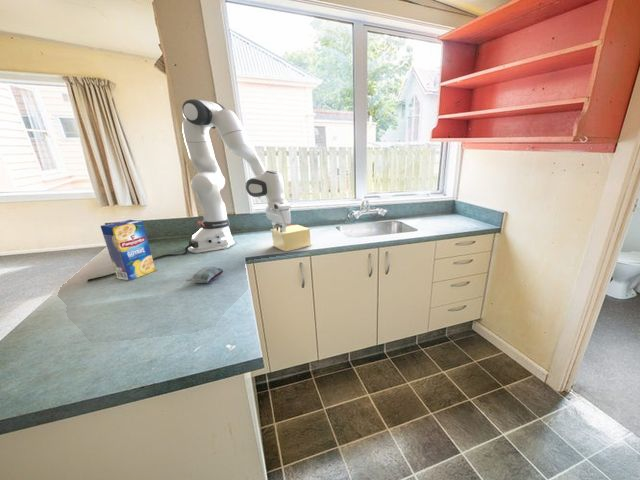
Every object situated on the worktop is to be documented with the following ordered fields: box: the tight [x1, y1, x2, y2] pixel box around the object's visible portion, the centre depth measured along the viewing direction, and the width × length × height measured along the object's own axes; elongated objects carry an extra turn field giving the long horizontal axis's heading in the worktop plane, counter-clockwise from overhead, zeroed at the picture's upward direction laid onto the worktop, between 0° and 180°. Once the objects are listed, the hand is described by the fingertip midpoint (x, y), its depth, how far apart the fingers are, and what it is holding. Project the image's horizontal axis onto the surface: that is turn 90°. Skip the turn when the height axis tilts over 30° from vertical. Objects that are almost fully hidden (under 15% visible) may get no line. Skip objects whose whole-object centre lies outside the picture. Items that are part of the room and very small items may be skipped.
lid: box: [270, 222, 311, 236], centre depth 160 cm, size 16×13×5 cm
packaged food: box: [185, 266, 224, 284], centre depth 119 cm, size 9×12×5 cm
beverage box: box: [100, 219, 157, 281], centre depth 121 cm, size 7×11×22 cm, turn 164°
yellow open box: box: [271, 230, 312, 252], centre depth 162 cm, size 16×13×9 cm
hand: (279, 229), depth 156 cm, fingers open, 8 cm apart
